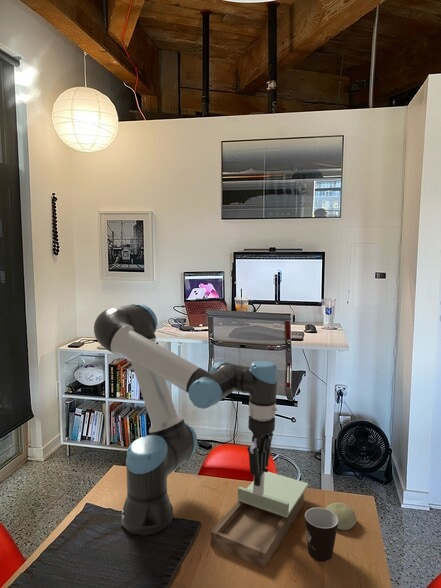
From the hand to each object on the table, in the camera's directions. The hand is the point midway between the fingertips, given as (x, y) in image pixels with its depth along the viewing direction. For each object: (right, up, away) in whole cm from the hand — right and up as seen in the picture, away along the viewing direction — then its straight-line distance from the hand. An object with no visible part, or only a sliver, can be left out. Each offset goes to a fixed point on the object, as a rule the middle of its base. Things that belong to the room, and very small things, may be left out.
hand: (258, 493), depth 121 cm
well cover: (+6, -4, +10) cm, 12 cm away
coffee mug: (+16, -11, -8) cm, 21 cm away
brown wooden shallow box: (+1, -10, +1) cm, 10 cm away
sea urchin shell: (+24, -10, +3) cm, 27 cm away
